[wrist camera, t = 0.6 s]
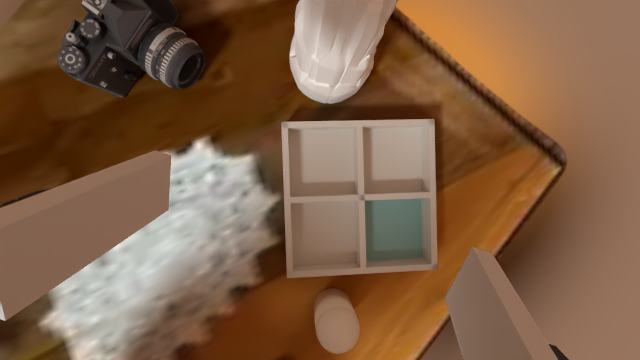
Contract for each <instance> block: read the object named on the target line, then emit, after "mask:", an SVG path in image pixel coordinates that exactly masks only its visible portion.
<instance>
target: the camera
mask: <svg viewBox="0 0 640 360" xmlns="http://www.w3.org/2000/svg"><path fill="white" fill-rule="evenodd" d="M81 5H82V6H83V7H84V9H85V10H86V11H88V13H87V15H86V16H85V18H84V19H83V21H82V22H81V24H80V23H79V22H78V21H76V20H73V21H72V24H71V27H70V29H69V30H68V32H67V33H66V35H65V36H64V38H63V40H62V46H61V50H60V51H59V52H58V54H57V62H58V64H59V66H60V67H61V69H62V70H63V71H64V72H65V73H66V74H68V75H69V76H71V77H73V78H74V79H76V80H78V81H80V82H82V83H85V84H87V85H91V86H94V87H97V88H99V89H102V90H104V91H107V92H109V93H112V94H114V95H116V96H119V97H126V95H127V94H128V92H129V91H130V89H131V88H132V86H133V85H134V84H135V83H136V81H137V80H138V78H139V76H140V75H141V73H142V72H143V70H144V71H145V72H147V73H148V74H149V75H150V76H151V77H152V78H154V79H156V80H159V81H162V82H163V83H164V84H166V85H167V86H169V87H173V88H175V89H179V88H180V89H186V88H188V87H190V86H191V85H193V84H194V83H195V81H196V80H197V79H198V78H199V76H200V75H201V73H202V71H203V68H204V65H205V55H204V53H202V49H201V48H200V47H199V46H198V44H197V43H196V42H195V41H194V40H192V39H191V38H189V37H188V36H187V35H186V34H185V33H184V32H183V31H182V29H181V28H180V27H179V28H176V27H174V24H175V23H176V21H177V20H178V19H179V17H180V13H179V11H178V9H177V8H176V7H175V6H174V4H173V3H172V2H171V0H85V1H84V0H83V2H82V4H81Z"/></svg>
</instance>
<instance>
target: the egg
mask: <svg viewBox="0 0 640 360" xmlns="http://www.w3.org/2000/svg"><path fill="white" fill-rule="evenodd" d="M313 310H314V319H315V328H316V335H317V338H318V341H319V342H320V344H321V345H322V346H323V347H324V349H326V350H327V351H329V352H331V353H335V354H342V353H345V352H348V351H349V350H351V349H352V348H353V347H354V346H355V344H356V343H357V341H358V338H359V334H360V325H359V321H358V319H357V316H356V314H355V311H354V309H353V306H352V304H351V301H350V299H349V297H348V295H347V294H346V293H345V292H344V291H342V290H340V289H337V288H328V289H325V290H323V291H322V292H320V293H319V294H318V295H317V297H316V298H315V301H314V305H313Z"/></svg>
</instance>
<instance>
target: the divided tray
mask: <svg viewBox="0 0 640 360" xmlns="http://www.w3.org/2000/svg"><path fill="white" fill-rule="evenodd" d="M281 124H282V152H283V181H284V209H285V238H286V266H287V278H300V277H318V276H335V275H352V274H370V273H387V272H405V271H422V270H438V266H437V218H436V170H435V123H434V119H407V120H355V121H303V122H281Z"/></svg>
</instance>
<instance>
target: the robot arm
mask: <svg viewBox="0 0 640 360" xmlns="http://www.w3.org/2000/svg"><path fill="white" fill-rule="evenodd" d="M170 167H171V155H168V154H165V153H161V152H158V151H152V152H150V153H147V154H144V155H142V156H139V157H136V158H134V159H131V160H128V161H125V162H123V163H120V164H117V165H115V166H112V167H109V168H107V169H104V170H101V171H99V172H96V173H93V174H90V175H88V176H85V177H82V178H80V179H77V180H74V181H72V182H69V183H66V184H64V185H61V186H58V187H56V188H52V189H47V190H41V191H37V192H34V193H31V194H28V195H26V196H23V197H20V198H19V199H18V200H12V201H9V202H6V203H4V204H3V205H2V206H0V319H1V320H4V321H6V320H8V319H9V318H11V317H12V316H13V315H15V314H16V313H18V312H19V311H21V310H22V309H24V308H25V307H27V306H28V305H30V304H31V303H33V302H34V301H35V300H37V299H38V298H40V297H41V296H43V295H44V294H46V293H47V292H49V291H50V290H52V289H53V288H55V287H56V286H57V285H59V284H60V283H62V282H63V281H65V280H66V279H68V278H69V277H71V276H72V275H74V274H75V273H77V272H78V271H79V270H81V269H82V268H84V267H85V266H87V265H88V264H90V263H91V262H93V261H94V260H96V259H97V258H99V257H100V256H101V255H103V254H104V253H106V252H107V251H109V250H110V249H112V248H113V247H115V246H116V245H118V244H119V243H121V242H122V241H124V240H125V239H126V238H128V237H129V236H131V235H132V234H134V233H135V232H137V231H138V230H140V229H141V228H143V227H144V226H146V225H147V224H148V223H150V222H151V221H153V220H154V219H156V218H157V217H159V216H160V215H162V214H163V213H165V212H166V211H168V208H169V187H170ZM445 300H446V303H447V306H448V310H449V313H450V316H451V320H452V323H453V326H454V330H455V333H456V336H457V340H458V343H459V347H460V350H461V353H462V357H463V360H568V358H567V357H566V356H565V355H563V353H562V352H561V351H560V350H559V349H558V348H557V347H556V346H553V345H550V344H548V343H547V341H546V339H545V338H544V336H543V335H542V333H541V332H540V330H539V328H538V327H537V325H536V324H535V322H534V320H533V319H532V317H531V315H530V314H529V312H528V311H527V309H526V307H525V306H524V304H523V303H522V301H521V299H520V298H519V296H518V294H517V293H516V292H515V290H514V288H513V286H512V285H511V284H510V282H509V280H508V279H507V277H506V275H505V274H504V272H503V270H502V269H501V267H500V266H499V264H498V262H497V261H496V259H495V258H494V256H493V254H492V253H491V252H488V251H484V250H481V249H478V248H474V247H472V248H471V250H470V252H469V254H468V256H467V258H466V260H465V262H464V263H463V265H462V267H461V269H460V271H459V273H458V275H457V277H456V278H455V280H454V282H453V284H452V286H451V288H450V290H449V292H448V293H447V295H446V297H445Z"/></svg>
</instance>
